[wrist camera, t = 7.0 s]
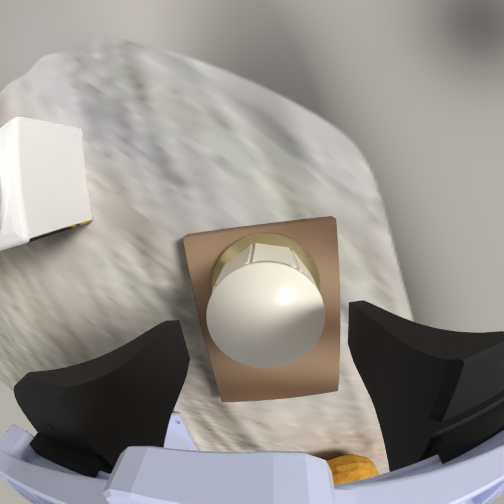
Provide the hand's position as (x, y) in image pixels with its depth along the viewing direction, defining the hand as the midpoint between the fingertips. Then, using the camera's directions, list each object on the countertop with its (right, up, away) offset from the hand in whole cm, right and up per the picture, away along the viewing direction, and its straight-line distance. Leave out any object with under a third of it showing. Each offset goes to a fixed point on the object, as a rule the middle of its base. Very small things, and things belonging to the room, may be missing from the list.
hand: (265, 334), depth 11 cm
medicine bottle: (-16, +9, +6) cm, 19 cm away
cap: (0, +1, +5) cm, 5 cm away
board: (+1, -1, +7) cm, 8 cm away
